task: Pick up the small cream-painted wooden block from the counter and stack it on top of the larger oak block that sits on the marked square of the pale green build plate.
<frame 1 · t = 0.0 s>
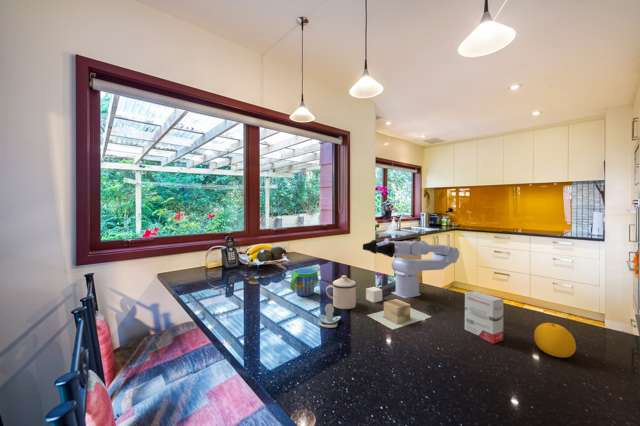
hand: (369, 248, 100), 22 cm above the countertop, tool horizontal, fingers open, 7 cm apart
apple: (554, 354, 65), on the countertop
teacup with lid: (340, 306, 98), on the countertop
build plate: (398, 317, 87), on the countertop
pacifier: (328, 325, 83), on the countertop
ink box: (483, 336, 74), on the countertop
cream block: (374, 301, 102), on the countertop
oak block: (396, 318, 85), point 1 cm above the countertop, touching build plate
snack cup: (305, 294, 112), on the countertop
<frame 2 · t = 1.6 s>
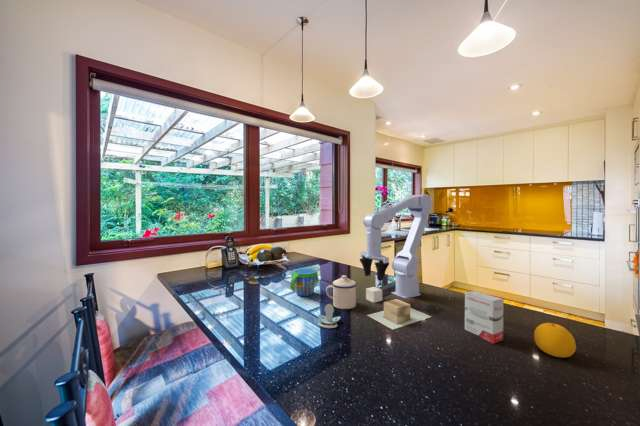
hand: (374, 277, 102), 9 cm above the countertop, tool pointing down, fingers open, 7 cm apart
nothing on the countertop moved.
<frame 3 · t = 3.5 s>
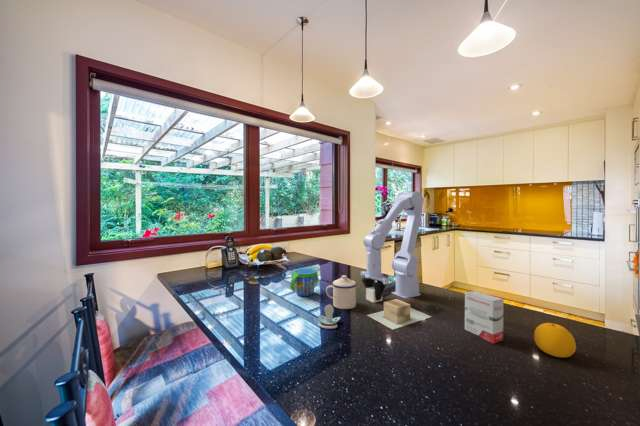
hand: (374, 297, 102), 1 cm above the countertop, tool pointing down, fingers closed on cream block, 4 cm apart
cream block: (374, 301, 102), on the countertop, touching gripper
everything else where it was.
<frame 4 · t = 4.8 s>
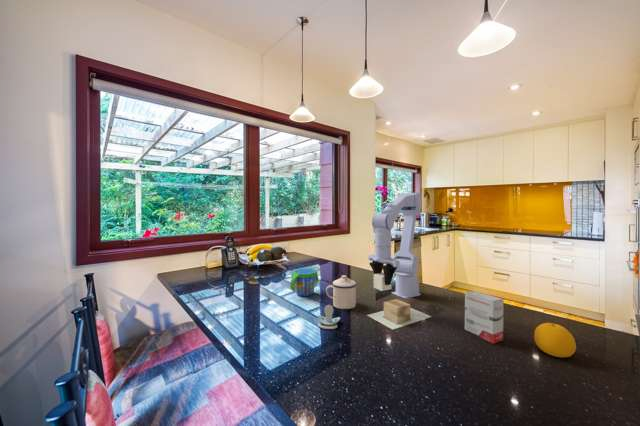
hand: (383, 282, 94), 10 cm above the countertop, tool pointing down, fingers closed on cream block, 4 cm apart
cream block: (382, 288, 94), point 8 cm above the countertop, touching gripper
everything else where it was.
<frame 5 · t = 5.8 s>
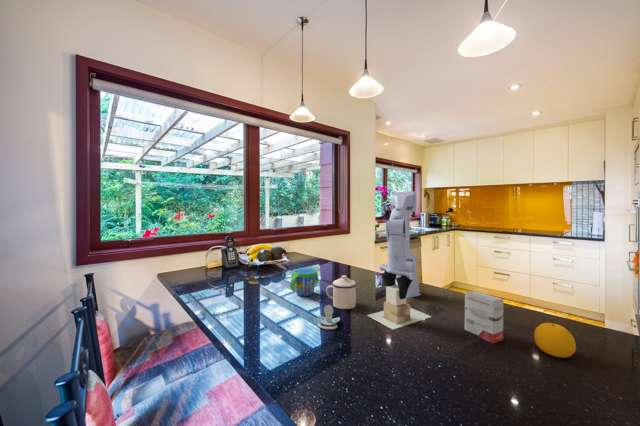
hand: (396, 296, 85), 8 cm above the countertop, tool pointing down, fingers closed on cream block, 4 cm apart
cream block: (396, 302, 85), point 6 cm above the countertop, touching gripper
when the fingers open (8 cm above the countertop, at t = 6.5 s): cream block stays where it is, resting on oak block.
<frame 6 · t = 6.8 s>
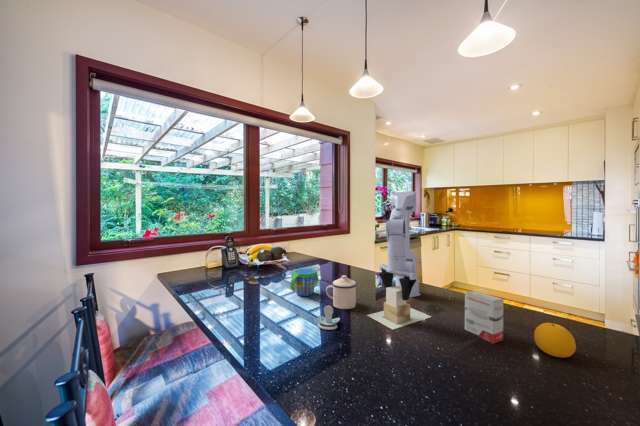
hand: (396, 296, 85), 8 cm above the countertop, tool pointing down, fingers open, 7 cm apart
cream block: (396, 303, 85), point 6 cm above the countertop, touching oak block
oak block: (396, 318, 85), point 1 cm above the countertop, touching build plate, cream block
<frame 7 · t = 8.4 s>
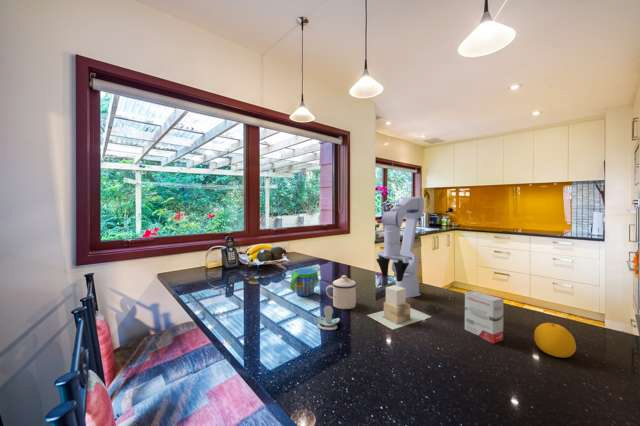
hand: (391, 278, 97), 10 cm above the countertop, tool pointing down, fingers open, 7 cm apart
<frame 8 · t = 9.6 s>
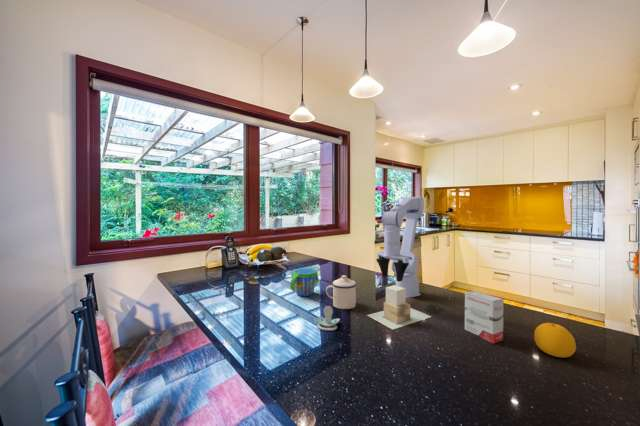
hand: (391, 278, 97), 10 cm above the countertop, tool pointing down, fingers open, 7 cm apart
at the end: cream block 0.6 cm off-centre on the oak block, point 5.0 cm above the oak block's base; cream block tilted 0°; the gripper is holding nothing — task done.
